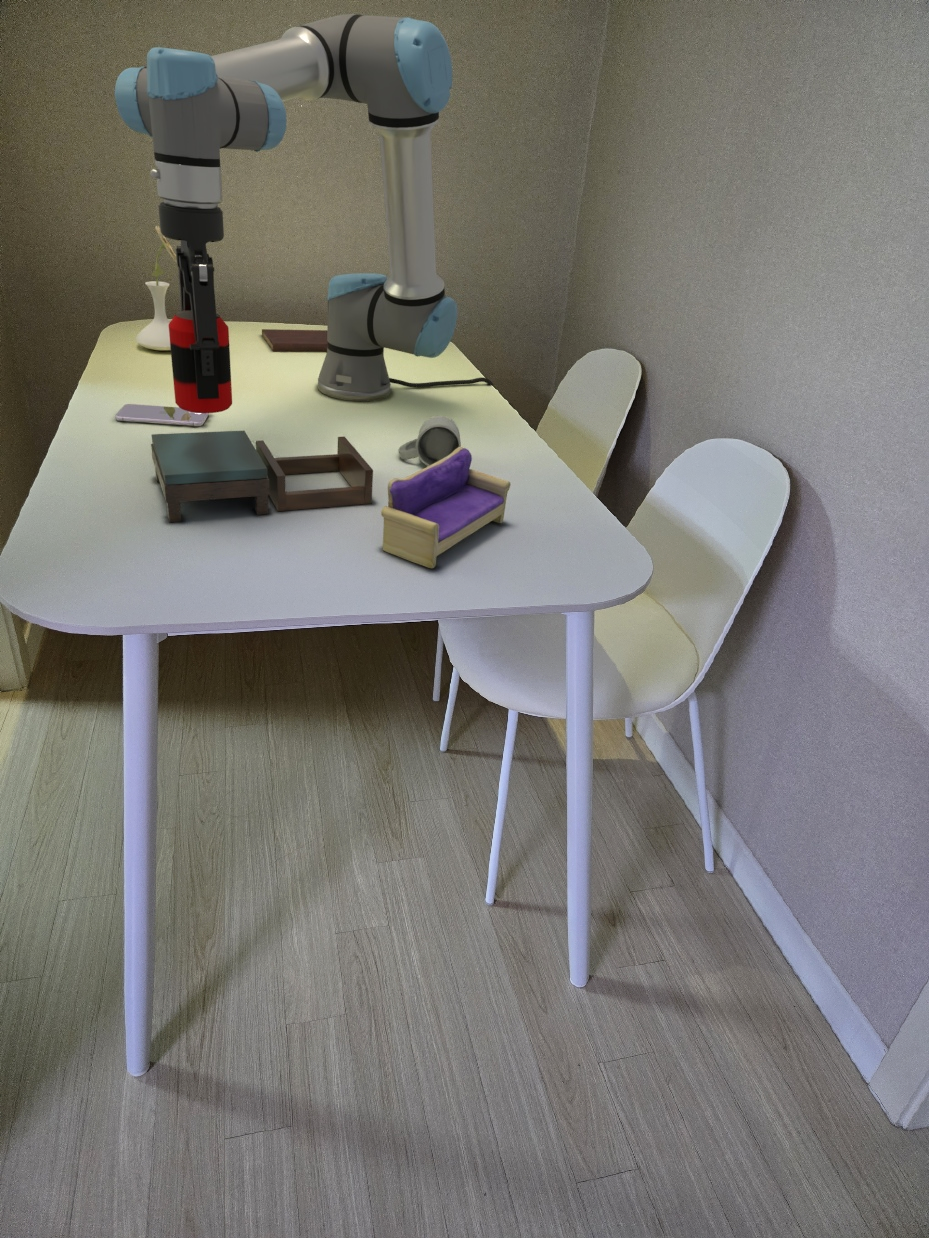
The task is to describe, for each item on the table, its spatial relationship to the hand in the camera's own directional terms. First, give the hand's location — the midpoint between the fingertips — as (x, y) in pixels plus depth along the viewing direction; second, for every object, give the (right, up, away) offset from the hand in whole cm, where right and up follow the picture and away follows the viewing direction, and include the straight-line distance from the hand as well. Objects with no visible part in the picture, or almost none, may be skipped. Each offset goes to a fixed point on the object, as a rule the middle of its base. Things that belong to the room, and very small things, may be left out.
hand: (203, 388), depth 109 cm
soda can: (0, -2, +1) cm, 3 cm away
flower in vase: (-33, +30, +72) cm, 85 cm away
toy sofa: (+33, -20, +6) cm, 39 cm away
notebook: (-3, +37, +88) cm, 95 cm away
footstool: (-2, -14, +9) cm, 16 cm away
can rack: (+12, -11, +15) cm, 22 cm away
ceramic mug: (+30, -4, +30) cm, 43 cm away
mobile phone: (-18, +4, +34) cm, 39 cm away
